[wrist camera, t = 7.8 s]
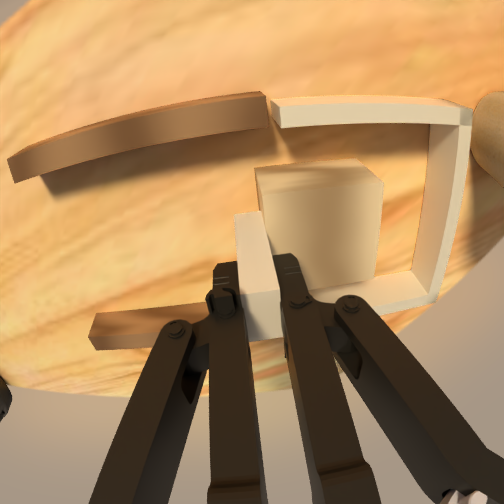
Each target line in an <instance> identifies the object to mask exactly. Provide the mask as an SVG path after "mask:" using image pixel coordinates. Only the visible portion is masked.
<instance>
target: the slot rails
mask: <svg viewBox="0 0 504 504" xmlns="http://www.w3.org/2000/svg"><path fill="white" fill-rule="evenodd" d="M266 127H269V123H268V113H267V103H266V96H265V95H264V94H263V93H261V92H260V91H258V92H248V93H240V94H232V95H225V96H218V97H211V98H205V99H199V100H193V101H187V102H182V103H177V104H171V105H167V106H162V107H157V108H152V109H148V110H144V111H139V112H135V113H131V114H127V115H123V116H119V117H116V118H112V119H108V120H105V121H101V122H98V123H94V124H91V125H88V126H84V127H81V128H78V129H75V130H72V131H69V132H66V133H63V134H60V135H57V136H54V137H51V138H48V139H45V140H43V141H40V142H37V143H35V144H32V145H30V146H27V147H26V148H24V149H22V150H21V151H19V152H18V153H16V154H14V155H13V156H11V157H10V158H8V159H7V161H8V165H9V168H10V171H11V174H12V177H13V180H14V183H18V182H21V181H23V180H26V179H29V178H32V177H35V176H38V175H41V174H45V173H48V172H51V171H54V170H57V169H61V168H64V167H67V166H71V165H74V164H78V163H81V162H85V161H89V160H92V159H96V158H100V157H104V156H108V155H112V154H116V153H120V152H124V151H129V150H133V149H138V148H142V147H147V146H152V145H156V144H161V143H166V142H172V141H177V140H182V139H188V138H194V137H200V136H206V135H212V134H219V133H226V132H233V131H240V130H248V129H257V128H266ZM208 315H209V311H208V307H207V303H206V302H201V303H193V304H185V305H176V306H167V307H158V308H148V309H139V310H129V311H118V312H107V313H96V316H95V319H94V321H93V324H92V327H91V330H90V333H89V335H88V338H89V340H90V341H91V343H92V344H93V346H94V347H95V349H96V350H116V349H134V348H149V347H153V346H154V344H155V341H156V339H157V337H158V335H159V333H160V331H161V329H162V328H163V326H164V325H165V324H167V323H168V322H170V321H173V320H178V319H182V320H186V321H188V322H189V323H191V324H193V323H196V322H198V321H201V320H203V319H204V318H206V317H207V316H208Z"/></svg>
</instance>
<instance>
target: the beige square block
mask: <svg viewBox="0 0 504 504" xmlns="http://www.w3.org/2000/svg"><path fill="white" fill-rule="evenodd" d="M254 170H255V179H256V188H257V196H258V205H259V211H261V213H262V217H263V221H264V225H265V229H266V233H267V237H268V241H269V246H270V250H271V254H272V255H279V254H286V253H292V254H293V255H294V256H295V257H296V258H297V259H298V262H299V265H300V268H301V271H302V274H303V277H304V279H305V282H306V285H307V288H308V290H312V289H318V288H325V287H331V286H337V285H343V284H349V283H354V282H360V281H366V280H371V279H374V273H375V266H376V259H377V251H378V243H379V234H380V225H381V215H382V204H383V191H384V182H383V181H382V180H381V179H380V178H379V177H377V176H376V175H375V174H374V173H373V172H372V171H371V170H369V169H368V168H367V167H366V166H365V165H363V164H362V163H361V162H360V161H359V160H357V159H356V158H348V159H335V160H323V161H312V162H301V163H292V164H282V165H274V166H265V167H257V168H254Z"/></svg>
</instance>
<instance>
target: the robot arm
mask: <svg viewBox="0 0 504 504" xmlns="http://www.w3.org/2000/svg"><path fill="white" fill-rule="evenodd" d="M234 225H235V238H236V251H237V261H233V262H226V263H218V264H217V265H216V267H215V269H214V270H213V289H212V290H210V291H209V293H208V294H207V295H206V298H205V300H206V303H207V307H208V311H209V315H208V316H207V317H206V318H204V319H203V320H201V321H198V322H196V323H193V324H191V323H189V322H188V321H186V320H182V319H178V320H173V321H170V322H168V323H167V324H165V325H164V326H163V328H162V329H161V331H160V333H159V335H158V337H157V339H156V341H155V344H154V346H153V348H152V350H151V352H150V355H149V357H148V359H147V361H146V364H145V366H144V368H143V370H142V373H141V375H140V377H139V380H138V382H137V384H136V386H135V389H134V391H133V393H132V396H131V398H130V400H129V403H128V405H127V407H126V410H125V412H124V415H123V417H122V420H121V422H120V424H119V427H118V429H117V432H116V434H115V437H114V439H113V441H112V444H111V446H110V449H109V451H108V454H107V457H106V459H105V462H104V464H103V467H102V469H101V472H100V474H99V477H98V480H97V482H96V485H95V488H94V491H93V493H92V496H91V498H90V501H89V504H168V501H169V498H170V494H171V491H172V488H173V484H174V480H175V477H176V474H177V470H178V467H179V463H180V460H181V456H182V453H183V450H184V447H185V443H186V439H187V436H188V433H189V429H190V426H191V422H192V419H193V416H194V413H195V409H196V406H197V403H198V399H199V396H200V393H201V389H202V386H203V383H204V379H205V376H206V373H207V370H208V369H209V426H210V427H209V428H210V465H211V466H210V467H211V483H210V486H209V488H208V492H207V504H268V499H267V492H266V484H265V475H264V467H263V460H262V451H261V442H260V433H259V425H258V416H257V407H256V398H255V389H254V380H253V371H252V361H251V352H250V347H249V342H252V341H260V340H267V339H274V338H281V337H284V349H285V358H287V363H288V368H289V373H290V378H291V383H292V389H293V394H294V399H295V403H296V409H297V415H298V420H299V425H300V430H301V436H302V441H303V447H304V452H305V457H306V463H307V468H308V474H309V479H310V484H311V490H312V502H313V504H381V500H380V496H379V492H378V489H377V485H376V482H375V478H374V474H373V472H372V468H371V467H370V465H369V464H368V463H367V462H366V461H365V460H364V458H363V455H362V451H361V447H360V444H359V440H358V437H357V433H356V430H355V426H354V423H353V419H352V416H351V413H350V409H349V406H348V403H347V399H346V396H345V393H344V389H343V386H342V383H341V379H340V376H339V373H338V370H337V367H336V363H335V360H334V357H335V359H336V360H337V362H338V363H339V365H340V366H341V368H342V369H343V371H344V372H345V374H346V375H347V377H348V378H349V380H350V381H351V383H352V384H353V386H354V387H355V389H356V390H357V392H358V393H359V395H360V396H361V398H362V399H363V401H364V402H365V404H366V405H367V407H368V408H369V410H370V412H371V413H372V415H373V416H374V418H375V419H376V421H377V422H378V423H379V425H380V427H381V428H382V430H383V431H384V433H385V434H386V436H387V437H388V439H389V440H390V442H391V443H392V445H393V446H394V448H395V450H396V451H397V452H398V454H399V456H400V457H401V459H402V460H403V462H404V463H405V465H406V466H407V468H408V469H409V471H410V473H411V474H412V475H413V477H414V479H415V480H416V482H417V483H418V485H419V486H420V487H421V489H422V490H423V491H424V493H425V494H426V495H427V496H428V497H429V498H430V499H431V500H432V501H433V502H434V503H435V504H504V459H503V458H502V457H500V456H499V455H497V454H495V453H494V452H492V451H490V450H489V449H487V448H486V446H485V445H484V444H483V443H482V441H481V440H480V439H479V437H478V436H477V434H476V433H475V432H474V431H473V429H472V428H471V427H470V425H469V424H468V423H467V421H466V420H465V419H464V418H463V417H462V415H461V414H460V412H459V411H458V410H457V409H456V407H455V406H454V405H453V404H452V402H451V401H450V400H449V399H448V397H447V396H446V395H445V394H444V392H443V391H442V390H441V389H440V387H439V386H438V385H437V384H436V382H435V381H434V380H433V379H432V378H431V376H430V375H429V374H428V373H427V372H426V370H425V369H424V368H423V367H422V365H421V364H420V363H419V362H418V361H417V359H416V358H415V357H414V356H413V355H412V354H411V352H410V351H409V350H408V349H407V348H406V346H405V345H404V344H403V343H402V342H401V341H400V340H399V339H398V337H397V336H396V335H395V334H394V332H393V331H392V330H391V329H390V328H389V327H388V326H387V324H386V323H385V322H384V321H383V320H382V319H381V318H380V316H379V315H378V314H377V313H376V312H375V311H374V310H373V308H372V307H371V306H370V305H369V304H368V303H367V302H366V301H365V300H364V299H363V298H361V297H359V296H357V295H344V296H342V297H340V298H338V299H337V301H336V302H335V303H325V302H320V301H318V300H316V299H314V298H313V296H312V295H310V294H309V291H308V288H307V285H306V282H305V279H304V277H303V274H302V271H301V268H300V265H299V262H298V259H297V258H296V257H295V256H294V255H293V254H292V253H286V254H279V255H272V254H271V250H270V246H269V241H268V237H267V233H266V229H265V225H264V221H263V217H262V213H261V211H254V212H247V213H239V214H234ZM333 356H334V357H333ZM11 402H12V395H11V392H10V390H9V388H8V387H7V385H6V384H5V382H4V381H3V380H2V379H1V378H0V421H1V420H2V419H3V417H5V416H6V414H7V413H8V410H9V407H10V405H11Z"/></svg>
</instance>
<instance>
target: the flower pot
mask: <svg viewBox="0 0 504 504" xmlns="http://www.w3.org/2000/svg"><path fill="white" fill-rule="evenodd" d="M470 147H471V151H472V153H473V156H474V158H475V160H476V162H477V163H478V164H479V166H480V167H481V168H483V169H484V170H485V171H486V172H487V173H488V174H489V175H491V176H492V177H493V178H494V179H495V180H496V181H497V182H498V183H499V184H500V185H501V186H502V187H503V188H504V92H503V91H498V92H491V93H489V94H487V95H486V96H485V97H483V98H482V99H481V101H480V102H479V103H478V105H477V107H476V109H475V111H474V113H473V117H472V132H471V141H470Z"/></svg>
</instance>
